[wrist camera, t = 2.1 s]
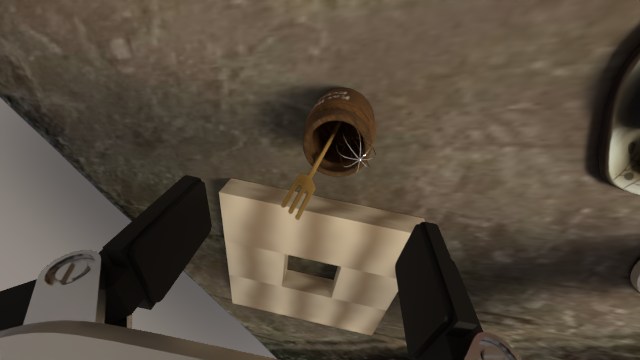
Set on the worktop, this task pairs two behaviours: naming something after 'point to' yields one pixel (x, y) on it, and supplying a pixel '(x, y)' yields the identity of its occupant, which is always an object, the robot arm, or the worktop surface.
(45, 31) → the worktop surface
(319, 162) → the utensil holder
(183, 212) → the robot arm
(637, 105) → the salad plate
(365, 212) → the socket board
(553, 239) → the worktop surface
